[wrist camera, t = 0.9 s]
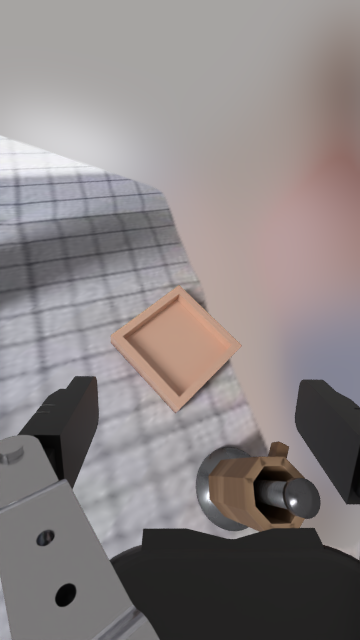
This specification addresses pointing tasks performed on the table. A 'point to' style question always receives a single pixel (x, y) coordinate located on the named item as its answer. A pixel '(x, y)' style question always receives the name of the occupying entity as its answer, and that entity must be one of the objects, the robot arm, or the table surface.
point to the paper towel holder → (257, 492)
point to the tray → (175, 346)
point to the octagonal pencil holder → (238, 493)
